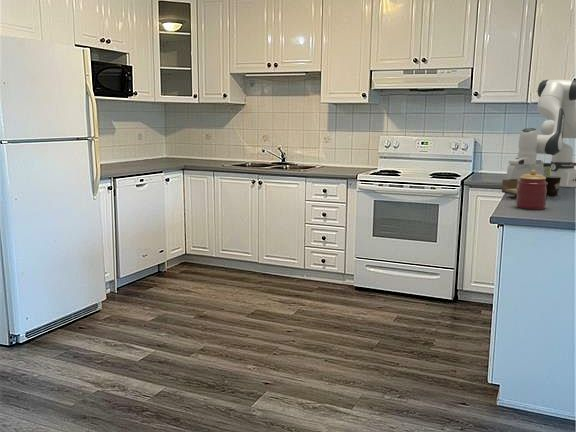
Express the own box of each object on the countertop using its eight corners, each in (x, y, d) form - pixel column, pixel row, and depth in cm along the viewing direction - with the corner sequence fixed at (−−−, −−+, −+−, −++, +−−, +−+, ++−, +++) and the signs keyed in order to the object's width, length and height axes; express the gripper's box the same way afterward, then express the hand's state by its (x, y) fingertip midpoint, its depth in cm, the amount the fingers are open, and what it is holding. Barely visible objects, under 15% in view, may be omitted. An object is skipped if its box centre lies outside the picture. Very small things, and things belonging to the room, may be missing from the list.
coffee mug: (554, 194, 298) (555, 175, 296) (562, 196, 290) (564, 177, 288) (532, 194, 298) (534, 175, 296) (540, 196, 289) (542, 177, 287)
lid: (526, 190, 293) (526, 180, 292) (543, 193, 281) (544, 183, 280) (505, 191, 289) (505, 181, 288) (522, 194, 277) (523, 184, 276)
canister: (525, 204, 268) (527, 167, 264) (551, 207, 257) (554, 170, 254) (509, 207, 260) (512, 169, 257) (536, 211, 250) (539, 172, 246)
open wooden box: (520, 191, 309) (520, 178, 307) (535, 194, 297) (536, 181, 296) (501, 192, 305) (502, 179, 304) (516, 195, 294) (517, 182, 293)
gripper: (539, 159, 288) (536, 185, 291) (505, 160, 282) (504, 187, 285) (547, 160, 282) (545, 187, 285) (514, 161, 276) (512, 189, 279)
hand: (524, 187), depth 285 cm, fingers closed on lid, 3 cm apart
